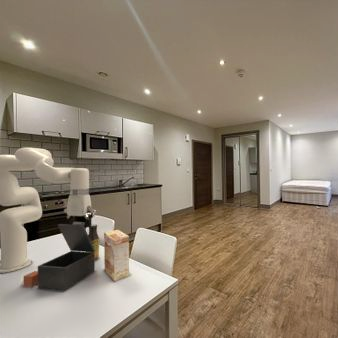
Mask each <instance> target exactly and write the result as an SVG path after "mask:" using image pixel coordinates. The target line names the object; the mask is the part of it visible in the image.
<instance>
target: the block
mask: <svg viewBox="0 0 338 338" xmlns="http://www.w3.org/2000/svg"><path fill="white" fill-rule="evenodd" d="M36 285H38V270H34V271H32V272H30V273H27V274H25V275H23V287H30V288H32V287H34V286H36Z"/></svg>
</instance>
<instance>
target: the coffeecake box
mask: <svg viewBox="0 0 338 338" xmlns="http://www.w3.org/2000/svg"><path fill="white" fill-rule="evenodd" d="M129 239H130V236H129V235H128V234H126V233H124V232H123V231H121V230H120V229H115V230H109V231H104V232H103V244H104V245H103V246H104V247H103V250H104V251H103V253H104V255H103V256H104V257H103V259H104V272H106V274H107V275H108V276H109V277H110V278H111V280H113V281H114V282H116V281H119V280H121V279H123V278H127V277H129V276H130V240H129Z"/></svg>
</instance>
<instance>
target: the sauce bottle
mask: <svg viewBox="0 0 338 338" xmlns="http://www.w3.org/2000/svg"><path fill="white" fill-rule="evenodd" d="M97 228H98V224H96V223H94V224H91V226H90V227H88V233H87V234H88V236H89V238H90V241H91V243H92V245H93V247H94V249H95V252H94V253H95V261H97V260H98V259H99V258H100V257H99V256H100V237H99V234H98V229H97Z"/></svg>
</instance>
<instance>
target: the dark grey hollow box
mask: <svg viewBox="0 0 338 338" xmlns="http://www.w3.org/2000/svg"><path fill="white" fill-rule="evenodd" d="M95 262H96V260H95V253H94V252H84V251H71V250H70V251H68V252H66V253H64V254H62V255H59V256H57V257H55V258H52V259H51V260H48V261H46V262H43V263H42V264H39V265H38V266H37V271H38V284H37V289H39V290H48V291H49V290H50V291H59V292H66V291H68V290H69V289H71V288H72V287H74V286H75V285H77V284H78V283H80V282H81V281H83V280H84V279H86V278H88V277H90V276H91V275H92V274H94V273H95V271H96V269H95V267H96V266H95V265H96V264H95Z"/></svg>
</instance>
